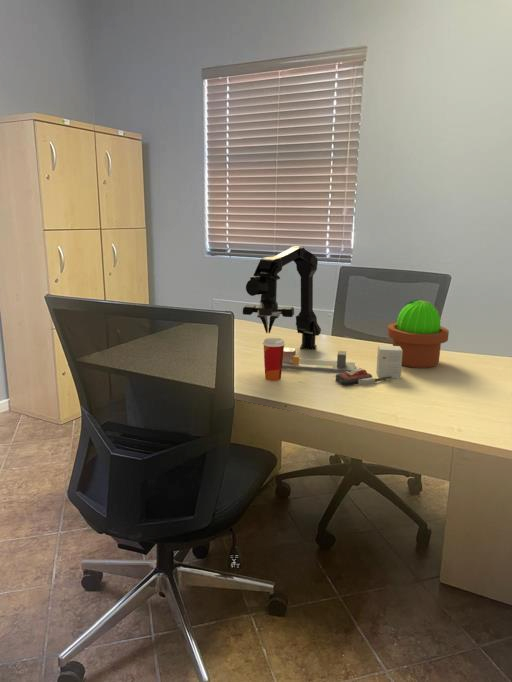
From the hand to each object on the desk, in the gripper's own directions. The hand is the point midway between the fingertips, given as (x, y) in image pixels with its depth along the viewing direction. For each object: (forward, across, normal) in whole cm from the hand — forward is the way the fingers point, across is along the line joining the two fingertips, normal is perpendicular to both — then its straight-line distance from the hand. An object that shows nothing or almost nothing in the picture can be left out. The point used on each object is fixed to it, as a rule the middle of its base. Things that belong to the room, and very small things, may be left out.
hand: (268, 333), depth 198 cm
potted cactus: (+12, +56, +16) cm, 60 cm away
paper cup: (+12, +5, -17) cm, 22 cm away
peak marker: (+10, +11, -4) cm, 16 cm away
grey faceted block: (+10, +8, -1) cm, 13 cm away
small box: (+12, +45, -4) cm, 47 cm away
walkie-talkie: (+13, +36, -12) cm, 40 cm away
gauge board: (+12, +18, 0) cm, 22 cm away
